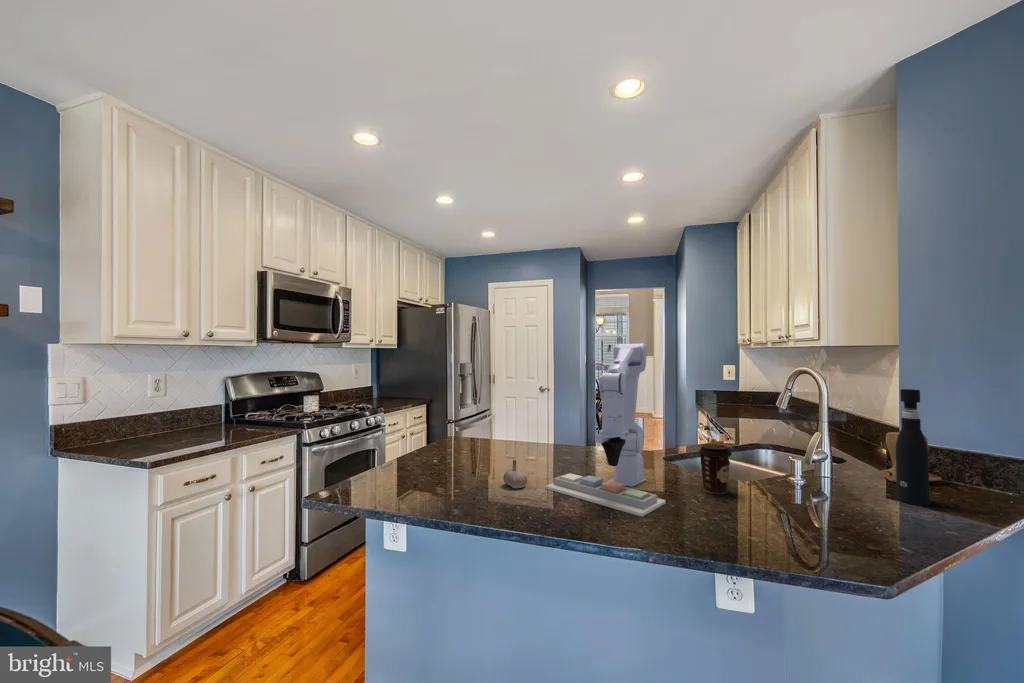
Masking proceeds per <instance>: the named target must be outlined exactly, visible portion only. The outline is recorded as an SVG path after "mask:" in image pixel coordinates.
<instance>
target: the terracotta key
mask: <svg viewBox="0 0 1024 683" xmlns="http://www.w3.org/2000/svg"><path fill="white" fill-rule="evenodd" d="M609 480H610V479H609ZM609 480H608V481H607V480H606V481H604V482H605V483H602V484H601V490H605V491H609V492H613V493H616V494H618V493H621V492H623V491H625V487H626V485H625V484H624V483H619V482H615V481H611V480H610V481H609Z"/></svg>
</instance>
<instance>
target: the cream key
mask: <svg viewBox="0 0 1024 683" xmlns="http://www.w3.org/2000/svg"><path fill="white" fill-rule="evenodd" d="M566 474H567V475H565V474H564V475H565V476H562V475H561V476H562V477H561V479H563V480H567V481H571V482H574V483H575V482H578V481H580V479H581V478H583V477H584V476H582V475H578V474H574V473H570V474H568V473H566Z"/></svg>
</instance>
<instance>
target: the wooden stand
mask: <svg viewBox="0 0 1024 683" xmlns="http://www.w3.org/2000/svg"><path fill="white" fill-rule="evenodd" d="M899 432H900V431H897V432H891V431H890V432H887V433H886V435H885V445H886V448H887V450H888V452H889V456H890V459H891V462H892V467H890V468H888V469H884V470H883V469H882V470H880V471H879V474H880V475H881V476H882V477H884V478H885V479H887V480H888V481H890V482H894V483H896V441H897V437H898V435H899ZM924 437H925V440H926V443H927V447H928V454H929V453H930V452H929V449H930V448H929V441H928V438H927V436H926V435H924ZM942 479H943V478H942V477H940V476H938V475H936V474H933V473H931V472H929V482H937V481H938V482H939V481H942Z"/></svg>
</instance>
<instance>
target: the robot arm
mask: <svg viewBox="0 0 1024 683" xmlns="http://www.w3.org/2000/svg"><path fill="white" fill-rule="evenodd" d="M612 354H613V361H611V362H610V364H609V366H608V367H607V370H606V372H602V373H601V374H600V375H599V379H598V388H599V396H600V400H601V429H600V430H598V434H595V435H594V442H595V443H596V444H597V443H598V444H600V445H601V446H602V448H603V451H604V453H605V455H606V456H605V457H606V460H607V464H608V466H611V467H614V477H613V478H611V479H608V481H610V480H611V481H615V482H619V483H624V484H625V487H629V488H630V487H631V488H632V487H635V486H637V485H639V484H641V483H644V482H646V481H647V478H644V472H645V471H644V470H645V469H644V457H643V455H642V454H641V453H642V452H643V451H644V445H645V444H644V439H645V438H644V430H643V428H642V427H641V425H639V424H638V423H637V422H636V412H637V411H636V410H637V399H638V386H639V378H640V374H641V373H643V372H645V371H646V367H647V358H648V357H647V345H646V344H645V343H644V342H641V343H615V344H614V346H613V350H612Z"/></svg>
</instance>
